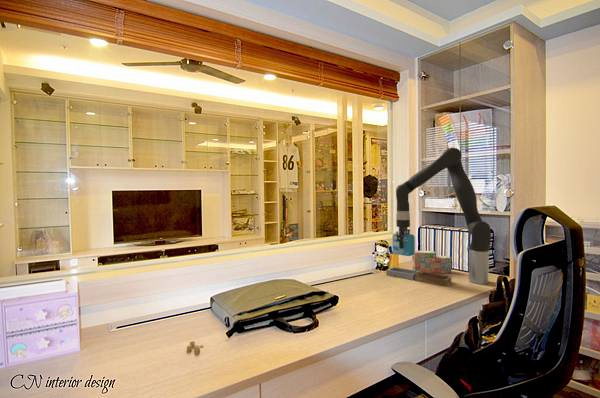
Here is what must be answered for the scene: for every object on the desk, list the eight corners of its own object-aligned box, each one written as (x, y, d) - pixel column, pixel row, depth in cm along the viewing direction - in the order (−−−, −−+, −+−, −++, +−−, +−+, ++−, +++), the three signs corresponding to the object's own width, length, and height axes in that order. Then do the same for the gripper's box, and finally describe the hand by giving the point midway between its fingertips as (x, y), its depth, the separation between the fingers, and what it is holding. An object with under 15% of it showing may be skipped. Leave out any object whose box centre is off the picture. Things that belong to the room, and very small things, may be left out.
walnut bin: (421, 276, 181) (421, 271, 181) (451, 282, 171) (451, 276, 171) (414, 280, 174) (415, 275, 174) (445, 286, 163) (445, 280, 163)
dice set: (198, 355, 97) (198, 349, 97) (183, 354, 98) (183, 348, 98) (206, 347, 102) (206, 341, 102) (191, 346, 103) (191, 340, 103)
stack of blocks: (448, 270, 195) (448, 251, 194) (451, 273, 189) (451, 253, 188) (412, 269, 198) (412, 250, 197) (414, 272, 191) (414, 252, 191)
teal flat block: (392, 253, 187) (392, 233, 186) (397, 252, 189) (396, 232, 189) (410, 256, 177) (410, 235, 177) (414, 255, 180) (414, 234, 179)
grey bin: (393, 271, 193) (393, 266, 192) (419, 276, 182) (420, 271, 182) (386, 275, 185) (386, 270, 185) (413, 280, 174) (413, 274, 174)
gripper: (404, 220, 175) (404, 250, 175) (414, 218, 186) (414, 246, 186) (391, 219, 180) (391, 249, 180) (402, 217, 191) (402, 245, 191)
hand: (403, 247), depth 183 cm, fingers closed on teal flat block, 5 cm apart
